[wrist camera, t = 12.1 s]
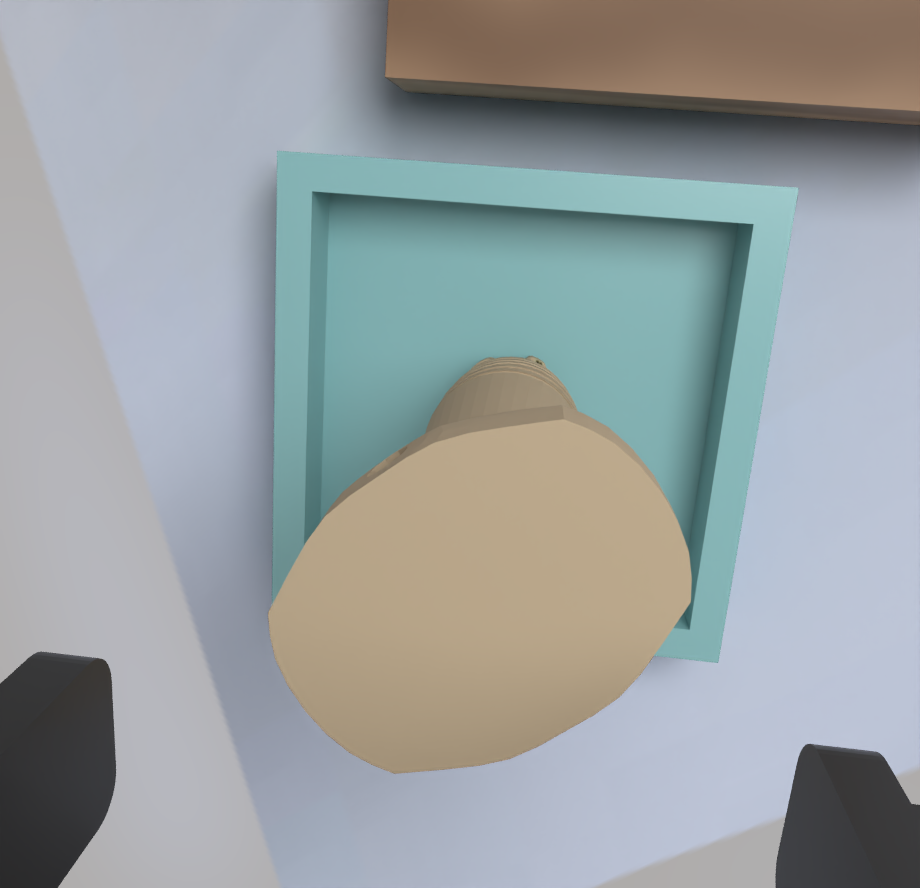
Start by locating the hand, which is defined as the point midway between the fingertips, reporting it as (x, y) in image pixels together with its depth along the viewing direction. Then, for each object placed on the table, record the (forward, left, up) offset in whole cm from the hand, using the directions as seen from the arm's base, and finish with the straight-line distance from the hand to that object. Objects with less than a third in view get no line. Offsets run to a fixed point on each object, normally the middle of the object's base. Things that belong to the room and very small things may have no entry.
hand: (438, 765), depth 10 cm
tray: (0, 0, -19) cm, 19 cm away
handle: (0, 0, -18) cm, 18 cm away
